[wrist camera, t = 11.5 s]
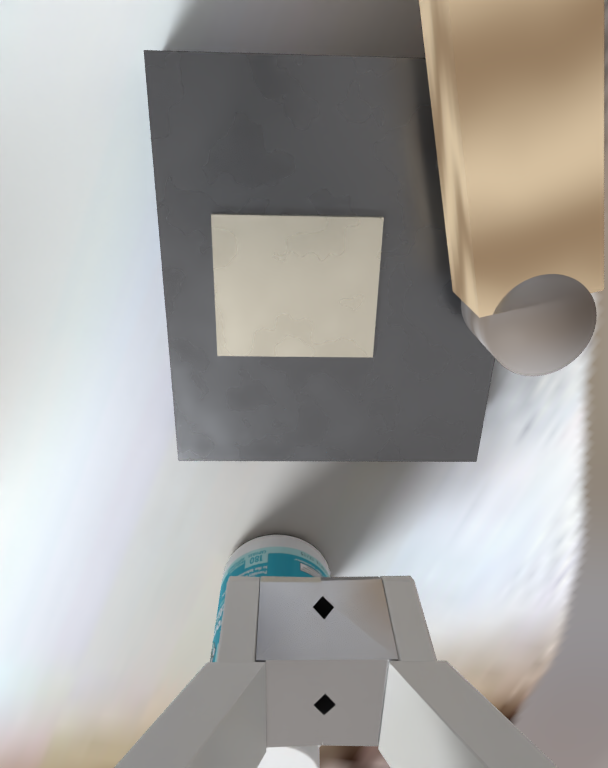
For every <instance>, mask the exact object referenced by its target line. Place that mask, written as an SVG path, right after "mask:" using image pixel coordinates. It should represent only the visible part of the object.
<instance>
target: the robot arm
mask: <svg viewBox="0 0 608 768" xmlns="http://www.w3.org/2000/svg"><path fill="white" fill-rule="evenodd" d="M322 744H323V745H337V746H379V748H378V749H379V751H380V752H381V754H382V755H383V757H384V758H385V760H386V761H387V763H388V764H389V766H390V767H391V768H558V767H557V766H556V765H555V764H554V763H553V762H552V761H551V760H550V759H549V758H548V757H547V756H546V755H545V754H543V752H542V751H541V750H539V749H538V748H537V747H536V746H535V745H534V744H533V743H532V742H531V741H530V740H529V739H528V738H527V737H526V736H525V735H524V734H523V733H521V731H520V730H519V729H517V728H516V727H515V726H514V725H513V724H512V723H511V722H510V721H509V720H508V719H507V718H506V717H505V716H504V715H503V714H502V713H501V712H500V711H499V710H498V709H497V708H496V707H494V706H493V705H492V704H491V703H490V702H489V701H488V700H487V699H486V698H485V697H484V696H483V695H482V694H481V693H480V692H479V691H478V690H477V689H476V688H475V687H474V686H472V685H471V684H470V683H469V682H468V681H467V680H466V679H465V678H464V677H463V676H462V675H461V674H460V673H459V672H458V671H457V670H456V669H455V668H454V667H453V666H452V665H451V664H449V663H448V662H447V661H437V659H436V655H435V652H434V648H433V645H432V641H431V638H430V634H429V631H428V627H427V624H426V620H425V617H424V613H423V610H422V606H421V603H420V599H419V596H418V592H417V589H416V585H415V582H414V580H413V579H412V577H411V576H380V577H276V576H261V579H260V577H244V576H230V577H229V579H228V582H227V587H226V594H225V602H224V609H223V617H222V624H221V632H220V639H219V647H218V654H217V662H207V663H206V664H205V665H204V666H203V667H202V668H201V670H200V671H199V672H198V673H197V674H196V675H195V676H194V677H193V679H192V680H191V681H190V682H189V683H188V684H187V685H186V687H185V688H184V689H183V690H182V691H181V692H180V693H179V695H178V696H177V697H176V698H175V699H174V700H173V701H172V702H171V704H170V705H169V706H168V707H167V708H166V709H165V710H164V712H163V713H162V714H161V715H160V716H159V717H158V718H157V720H156V721H155V722H154V723H153V724H152V725H151V726H150V727H149V729H148V730H147V731H146V732H145V733H144V734H143V735H142V737H141V738H140V739H139V740H138V741H137V742H136V743H135V745H134V746H133V747H132V748H131V749H130V750H129V751H128V752H127V754H126V755H125V756H124V757H123V758H122V759H121V760H120V762H119V763H118V764H117V765H116V766H115V767H114V768H257V767H258V766H259V764H260V762H261V760H262V758H263V757H264V755H265V753H266V748H269V747H292V746H315V745H322Z"/></svg>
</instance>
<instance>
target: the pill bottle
mask: <svg viewBox="0 0 608 768" xmlns="http://www.w3.org/2000/svg"><path fill="white" fill-rule="evenodd" d="M230 576H244V577H260V579H261V576H276V577H331V576H330V570H329V567H328V564H327V562H326V560H325V559H324V557H323V556H322V554H321V553H320V552H319V551H318V550H317V549H316V548H315V547H314V546H312V545H311V544H309V543H307V542H306V541H304V540H301V539H299V538H296V537H292V536H287V535H266V536H261V537H258V538H255V539H252V540H250V541H248V542H246V543H245V544H243V545H242V546H240V547H239V548H238V549H237V550H236V551H235V552H234V553H233V554H232V555H231V557H230V558H229V560H228V562H227V564H226V566H225V569H224V573H223V578H222V585H221V591H220V598H219V605H218V612H217V619H216V624H215V632H214V639H213V645H212V652H211V658H210V662H217V654H218V647H219V639H220V632H221V624H222V617H223V609H224V602H225V594H226V587H227V582H228V579H229V577H230ZM320 746H321V745H315V746H292V747H269V748H266V753H265V755H264V757H263V758H262V760H261V762H260V764H259V766H258V767H257V768H319V747H320Z"/></svg>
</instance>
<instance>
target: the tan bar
mask: <svg viewBox="0 0 608 768" xmlns="http://www.w3.org/2000/svg"><path fill="white" fill-rule="evenodd" d="M419 5H420V13H421V22H422V31H423V39H424V48H425V56H426V65H427V74H428V82H429V91H430V99H431V108H432V117H433V125H434V134H435V143H436V151H437V160H438V168H439V177H440V186H441V194H442V203H443V211H444V220H445V229H446V237H447V246H448V255H449V263H450V272H451V280H452V289H453V292H454V293H455V294H456V295H457V296H458V297H459V298H460V299H461V311H462V316H463V319H464V321H465V323H466V325H467V327H468V328H469V330H470V331H471V332H472V333H473V334H474V335H475V336H476V337H477V338H478V340H479V341H480V342H481V343H482V344H483V345H484V346H485V347H486V348H487V349H488V351H489V352H490V353H491V354H492V355H493V356H494V357H495V358H496V359H497V361H498V362H499V363H500V364H501V365H502V366H504V367H505V368H506V369H508V370H510V371H512V372H514V373H517V374H520V375H525V376H540V375H546V374H549V373H552V372H555V371H558V370H560V369H562V368H563V367H565V366H567V365H568V364H570V363H571V362H572V361H573V360H575V359H576V358H577V357H578V356H579V355H580V354H581V353H582V351H583V350H584V349H585V348H586V346H587V345H588V343H589V341H590V339H591V337H592V335H593V332H594V329H595V325H596V307H595V302H594V300H593V297H592V295H591V294H590V293H593V292H598V291H603V290H604V0H419Z"/></svg>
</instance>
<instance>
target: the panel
mask: <svg viewBox="0 0 608 768" xmlns="http://www.w3.org/2000/svg"><path fill="white" fill-rule="evenodd" d="M144 59H145V71H146V83H147V95H148V106H149V118H150V130H151V142H152V154H153V166H154V177H155V189H156V201H157V213H158V225H159V237H160V248H161V260H162V272H163V284H164V296H165V308H166V319H167V331H168V343H169V355H170V367H171V379H172V390H173V402H174V414H175V426H176V438H177V450H178V461H434V462H476V461H477V455H478V450H479V444H480V438H481V433H482V427H483V421H484V416H485V410H486V404H487V399H488V393H489V387H490V382H491V376H492V370H493V365H494V359H495V357H494V356H493V355H492V354H491V353H490V352H489V351H488V349H487V348H486V347H485V346H484V345H483V344H482V343H481V342H480V341H479V340H478V338H477V337H476V336H475V335H474V334H473V333H472V332H471V331H470V330H469V328H468V327H467V325H466V323H465V321H464V319H463V316H462V311H461V299H460V298H459V297H458V296H457V295H456V294H455V293H454V292H453V289H452V280H451V272H450V263H449V255H448V246H447V237H446V229H445V220H444V211H443V203H442V194H441V186H440V177H439V168H438V160H437V151H436V143H435V134H434V125H433V117H432V108H431V99H430V91H429V82H428V74H427V65H426V58H399V57H364V56H329V55H294V54H259V53H223V52H188V51H153V50H144Z"/></svg>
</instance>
